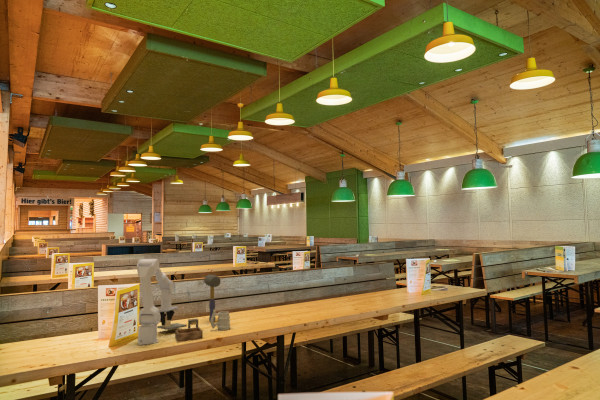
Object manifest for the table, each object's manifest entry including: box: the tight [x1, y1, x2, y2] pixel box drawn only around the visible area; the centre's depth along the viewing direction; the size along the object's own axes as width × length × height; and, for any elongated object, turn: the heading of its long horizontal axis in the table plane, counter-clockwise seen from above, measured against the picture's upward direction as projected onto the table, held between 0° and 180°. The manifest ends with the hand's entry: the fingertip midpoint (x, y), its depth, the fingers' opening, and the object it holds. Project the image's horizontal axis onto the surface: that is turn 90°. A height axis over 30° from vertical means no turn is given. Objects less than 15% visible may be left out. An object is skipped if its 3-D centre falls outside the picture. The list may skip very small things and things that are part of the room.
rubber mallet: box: [204, 274, 221, 323], centre depth 249 cm, size 12×8×30 cm, turn 34°
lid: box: [157, 319, 188, 331], centre depth 226 cm, size 13×10×4 cm
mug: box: [209, 309, 231, 331], centre depth 229 cm, size 8×12×12 cm, turn 116°
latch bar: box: [188, 318, 197, 326], centre depth 224 cm, size 3×10×1 cm, turn 25°
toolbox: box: [174, 318, 204, 343], centre depth 214 cm, size 13×16×8 cm
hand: (166, 324), depth 223 cm, fingers closed on lid, 3 cm apart
